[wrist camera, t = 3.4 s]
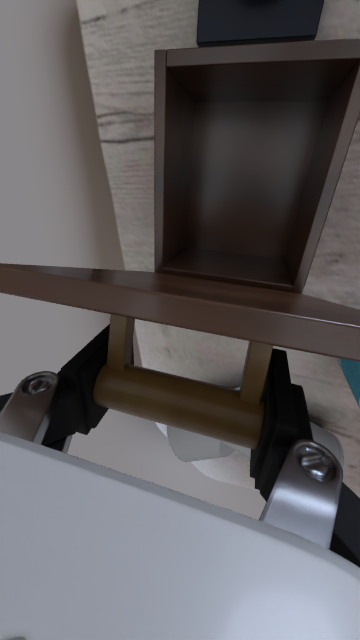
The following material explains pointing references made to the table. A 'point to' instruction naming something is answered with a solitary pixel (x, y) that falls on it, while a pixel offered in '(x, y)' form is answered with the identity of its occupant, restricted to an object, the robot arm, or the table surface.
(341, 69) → the tea box
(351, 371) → the pill bottle
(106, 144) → the table surface
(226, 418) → the lid
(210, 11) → the switch block
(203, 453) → the elbow connector
